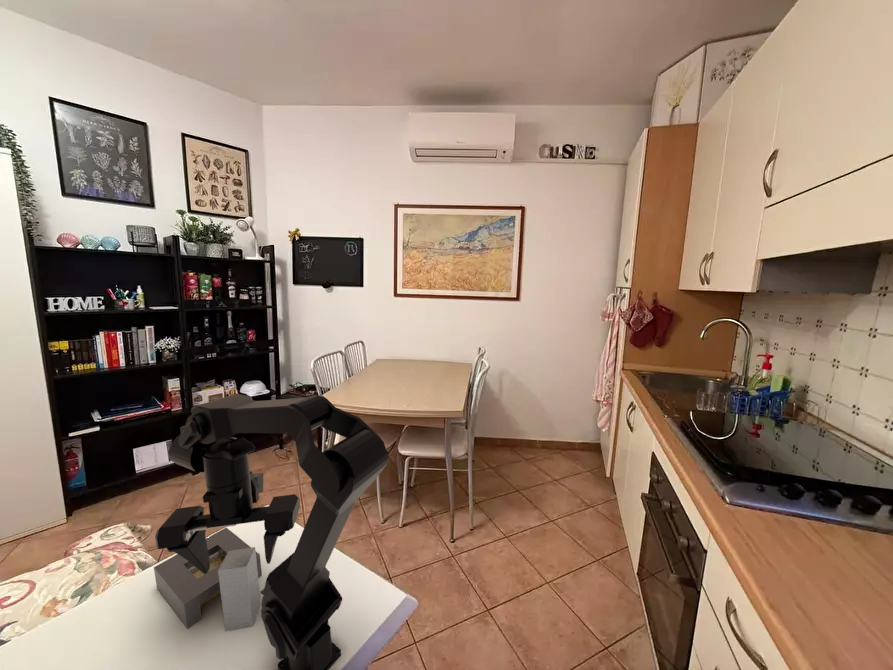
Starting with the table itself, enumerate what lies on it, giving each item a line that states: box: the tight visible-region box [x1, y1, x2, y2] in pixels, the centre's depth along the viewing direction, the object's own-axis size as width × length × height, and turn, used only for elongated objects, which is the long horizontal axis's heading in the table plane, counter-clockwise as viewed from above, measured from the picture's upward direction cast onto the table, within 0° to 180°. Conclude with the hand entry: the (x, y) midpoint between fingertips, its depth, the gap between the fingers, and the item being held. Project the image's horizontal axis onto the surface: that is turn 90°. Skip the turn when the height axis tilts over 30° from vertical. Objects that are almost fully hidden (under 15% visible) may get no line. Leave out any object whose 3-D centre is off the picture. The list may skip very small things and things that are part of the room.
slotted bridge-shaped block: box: [153, 527, 263, 629], centre depth 63 cm, size 13×12×4 cm
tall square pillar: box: [218, 546, 262, 632], centre depth 56 cm, size 4×4×11 cm
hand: (238, 566), depth 55 cm, fingers open, 9 cm apart
